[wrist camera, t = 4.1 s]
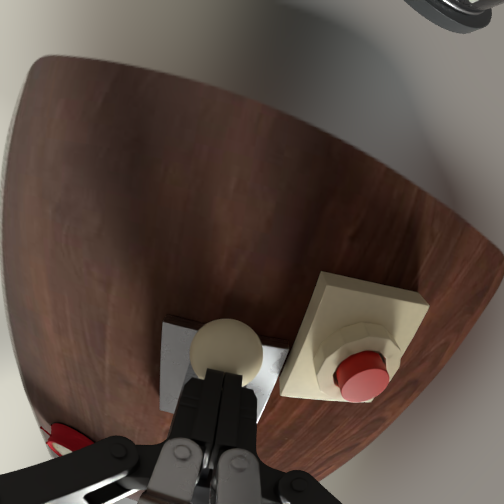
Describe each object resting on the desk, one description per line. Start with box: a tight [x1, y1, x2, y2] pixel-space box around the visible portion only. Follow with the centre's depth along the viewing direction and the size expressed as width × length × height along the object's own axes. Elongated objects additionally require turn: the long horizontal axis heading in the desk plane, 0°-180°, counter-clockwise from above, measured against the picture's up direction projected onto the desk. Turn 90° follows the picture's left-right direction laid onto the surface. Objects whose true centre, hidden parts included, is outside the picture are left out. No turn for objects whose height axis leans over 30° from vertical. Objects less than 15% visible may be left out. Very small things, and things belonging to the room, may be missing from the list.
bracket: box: [160, 314, 289, 438], centre depth 18 cm, size 12×10×13 cm
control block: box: [279, 271, 430, 402], centre depth 20 cm, size 11×9×4 cm
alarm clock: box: [40, 423, 94, 456], centre depth 31 cm, size 10×6×15 cm
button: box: [336, 351, 389, 402], centre depth 18 cm, size 4×4×2 cm
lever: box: [189, 319, 263, 504], centre depth 13 cm, size 14×3×3 cm, turn 167°
